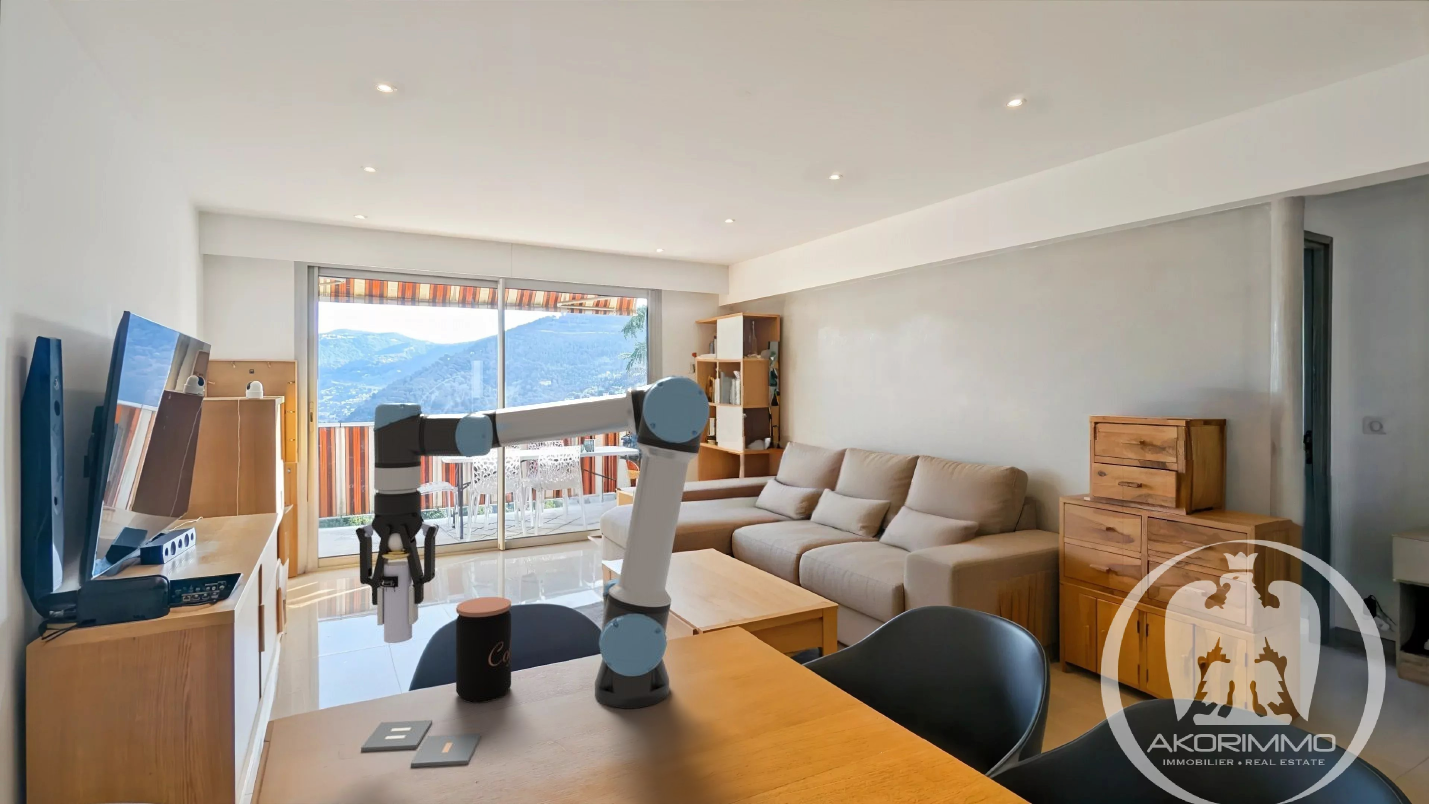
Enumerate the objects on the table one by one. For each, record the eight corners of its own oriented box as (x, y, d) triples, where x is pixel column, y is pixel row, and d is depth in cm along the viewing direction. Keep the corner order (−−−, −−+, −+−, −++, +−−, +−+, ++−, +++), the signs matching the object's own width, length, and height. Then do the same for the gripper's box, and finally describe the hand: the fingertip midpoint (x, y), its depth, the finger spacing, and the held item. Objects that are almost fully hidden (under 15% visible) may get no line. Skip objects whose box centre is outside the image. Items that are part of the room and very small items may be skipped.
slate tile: (480, 736, 121) (480, 733, 121) (467, 763, 112) (467, 760, 112) (427, 739, 120) (427, 735, 120) (410, 767, 111) (410, 763, 111)
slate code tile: (432, 723, 126) (432, 719, 126) (416, 748, 117) (416, 744, 117) (381, 725, 125) (381, 722, 125) (361, 751, 116) (361, 747, 116)
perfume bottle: (398, 635, 124) (398, 525, 124) (423, 639, 122) (423, 528, 122) (372, 645, 119) (372, 531, 119) (397, 650, 117) (397, 534, 117)
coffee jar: (494, 706, 132) (494, 614, 132) (445, 701, 135) (445, 610, 134) (520, 684, 143) (520, 598, 143) (474, 679, 145) (474, 595, 145)
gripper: (455, 487, 125) (455, 613, 125) (354, 488, 123) (354, 617, 123) (443, 492, 118) (443, 627, 118) (336, 494, 116) (336, 631, 116)
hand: (398, 622), depth 120 cm, fingers closed on perfume bottle, 4 cm apart
